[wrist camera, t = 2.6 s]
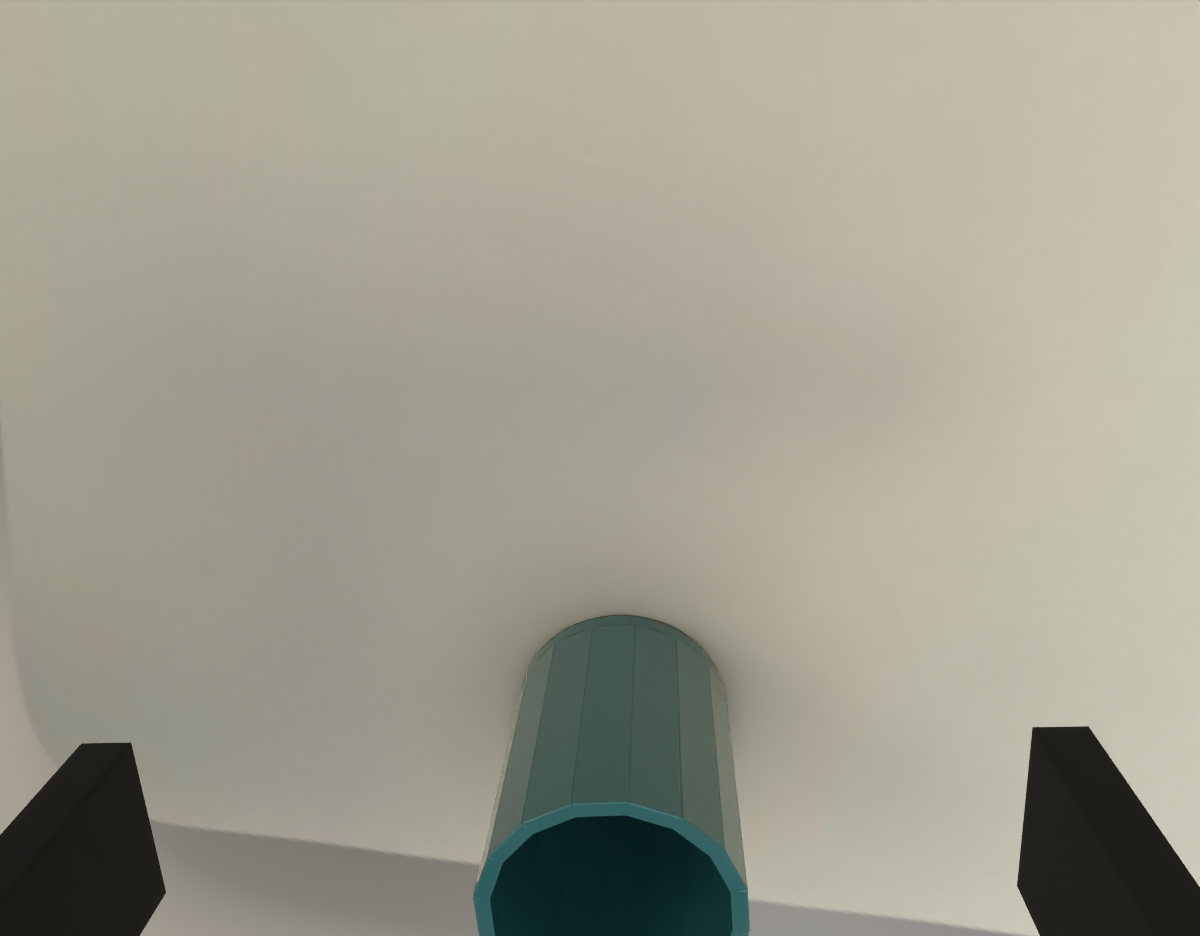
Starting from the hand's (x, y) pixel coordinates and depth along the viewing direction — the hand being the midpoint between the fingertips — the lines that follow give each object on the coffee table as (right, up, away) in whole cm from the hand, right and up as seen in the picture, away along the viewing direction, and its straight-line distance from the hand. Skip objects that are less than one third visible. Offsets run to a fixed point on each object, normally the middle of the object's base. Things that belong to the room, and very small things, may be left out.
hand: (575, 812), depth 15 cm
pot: (+1, -4, +26) cm, 26 cm away
